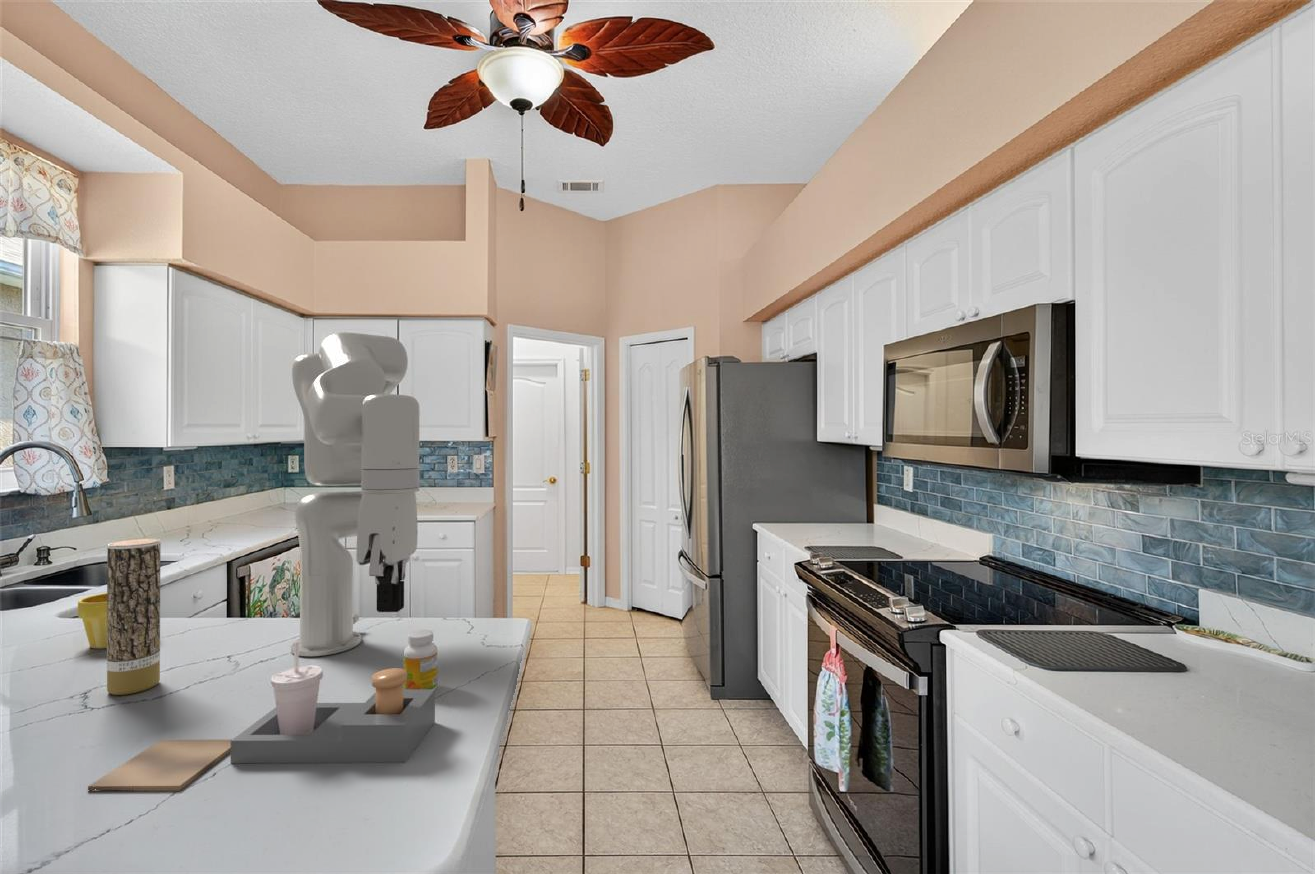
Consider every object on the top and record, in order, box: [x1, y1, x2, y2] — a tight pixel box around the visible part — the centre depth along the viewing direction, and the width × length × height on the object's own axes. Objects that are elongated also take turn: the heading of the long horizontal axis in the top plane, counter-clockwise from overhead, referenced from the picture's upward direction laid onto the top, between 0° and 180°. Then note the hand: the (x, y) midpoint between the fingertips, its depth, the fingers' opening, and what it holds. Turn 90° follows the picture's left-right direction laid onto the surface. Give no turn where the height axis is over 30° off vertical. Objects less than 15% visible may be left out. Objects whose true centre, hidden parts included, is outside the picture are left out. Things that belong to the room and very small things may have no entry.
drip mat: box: [87, 738, 232, 792], centre depth 78 cm, size 11×11×1 cm
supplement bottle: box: [403, 629, 438, 690], centre depth 101 cm, size 5×5×10 cm
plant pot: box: [77, 592, 107, 650], centre depth 122 cm, size 10×10×10 cm
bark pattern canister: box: [106, 538, 162, 696], centre depth 101 cm, size 7×7×25 cm
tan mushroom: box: [371, 667, 407, 714], centre depth 84 cm, size 5×5×7 cm
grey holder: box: [230, 689, 436, 764], centre depth 84 cm, size 11×23×5 cm, turn 91°
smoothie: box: [270, 641, 324, 735], centre depth 84 cm, size 6×6×14 cm
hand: (390, 609), depth 84 cm, fingers closed
